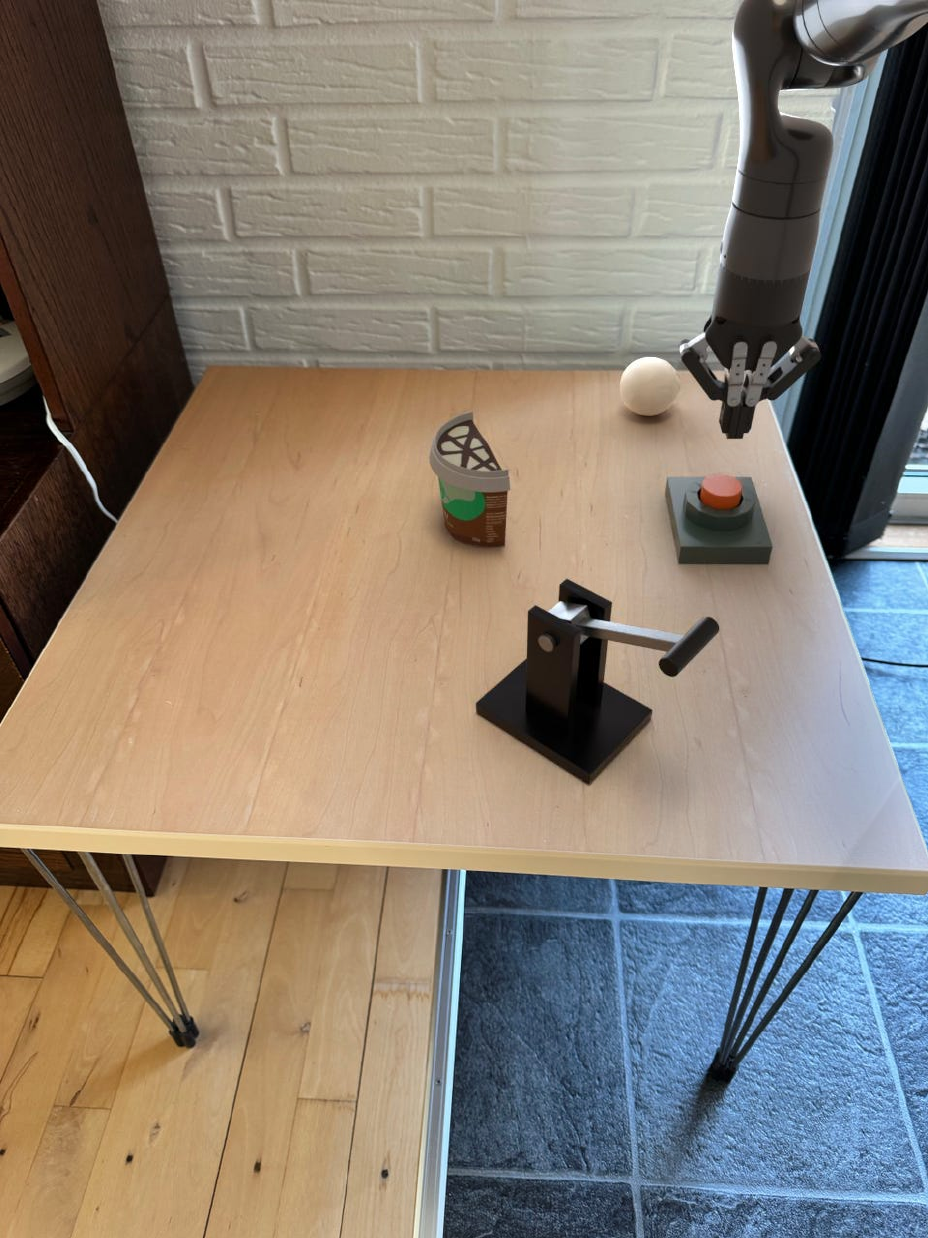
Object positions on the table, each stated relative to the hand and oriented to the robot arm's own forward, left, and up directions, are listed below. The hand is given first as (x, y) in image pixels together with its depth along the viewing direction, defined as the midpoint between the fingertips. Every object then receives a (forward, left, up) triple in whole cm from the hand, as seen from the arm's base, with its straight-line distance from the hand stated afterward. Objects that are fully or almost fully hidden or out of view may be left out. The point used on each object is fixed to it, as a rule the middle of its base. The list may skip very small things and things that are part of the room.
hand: (733, 434), depth 93 cm
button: (0, 0, -8) cm, 8 cm away
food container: (+24, +11, -12) cm, 29 cm away
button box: (0, 0, -11) cm, 11 cm away
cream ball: (+14, -19, -12) cm, 27 cm away
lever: (-1, +32, 0) cm, 32 cm away
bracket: (+4, +31, -11) cm, 33 cm away
